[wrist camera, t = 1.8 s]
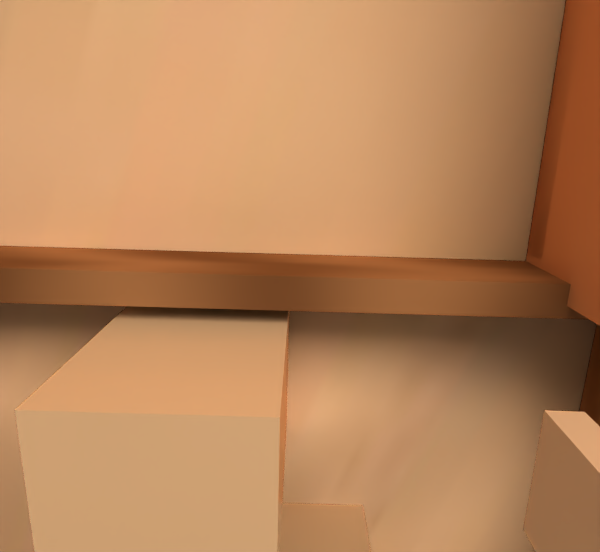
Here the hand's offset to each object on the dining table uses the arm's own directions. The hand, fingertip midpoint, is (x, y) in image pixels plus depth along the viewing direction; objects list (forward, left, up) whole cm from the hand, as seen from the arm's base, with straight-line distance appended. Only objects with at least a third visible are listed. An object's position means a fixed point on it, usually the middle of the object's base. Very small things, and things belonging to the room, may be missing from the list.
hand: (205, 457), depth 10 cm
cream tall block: (0, 0, -4) cm, 4 cm away
